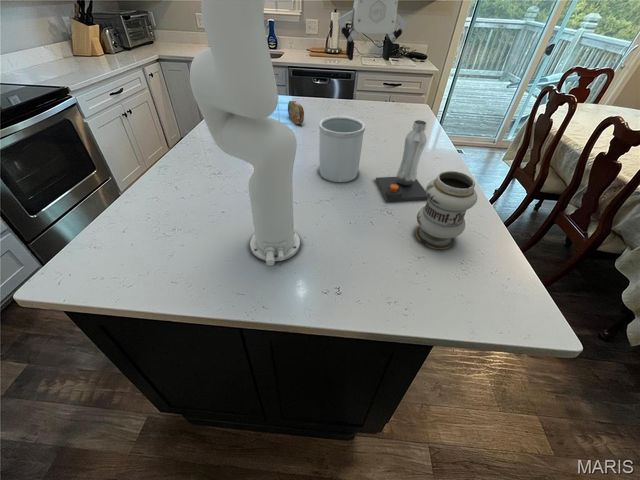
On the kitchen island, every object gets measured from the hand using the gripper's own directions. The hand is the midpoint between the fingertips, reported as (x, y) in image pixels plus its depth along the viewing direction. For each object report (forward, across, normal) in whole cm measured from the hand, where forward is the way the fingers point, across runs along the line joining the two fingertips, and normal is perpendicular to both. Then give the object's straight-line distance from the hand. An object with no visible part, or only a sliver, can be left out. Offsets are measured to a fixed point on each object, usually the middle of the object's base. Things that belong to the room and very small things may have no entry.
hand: (367, 59), depth 77 cm
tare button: (+34, +11, -11) cm, 37 cm away
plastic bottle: (+35, +17, -5) cm, 39 cm away
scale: (+36, +15, -7) cm, 40 cm away
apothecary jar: (+36, +16, -31) cm, 50 cm away
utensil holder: (+36, -4, +6) cm, 37 cm away
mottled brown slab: (+36, -15, +57) cm, 69 cm away
